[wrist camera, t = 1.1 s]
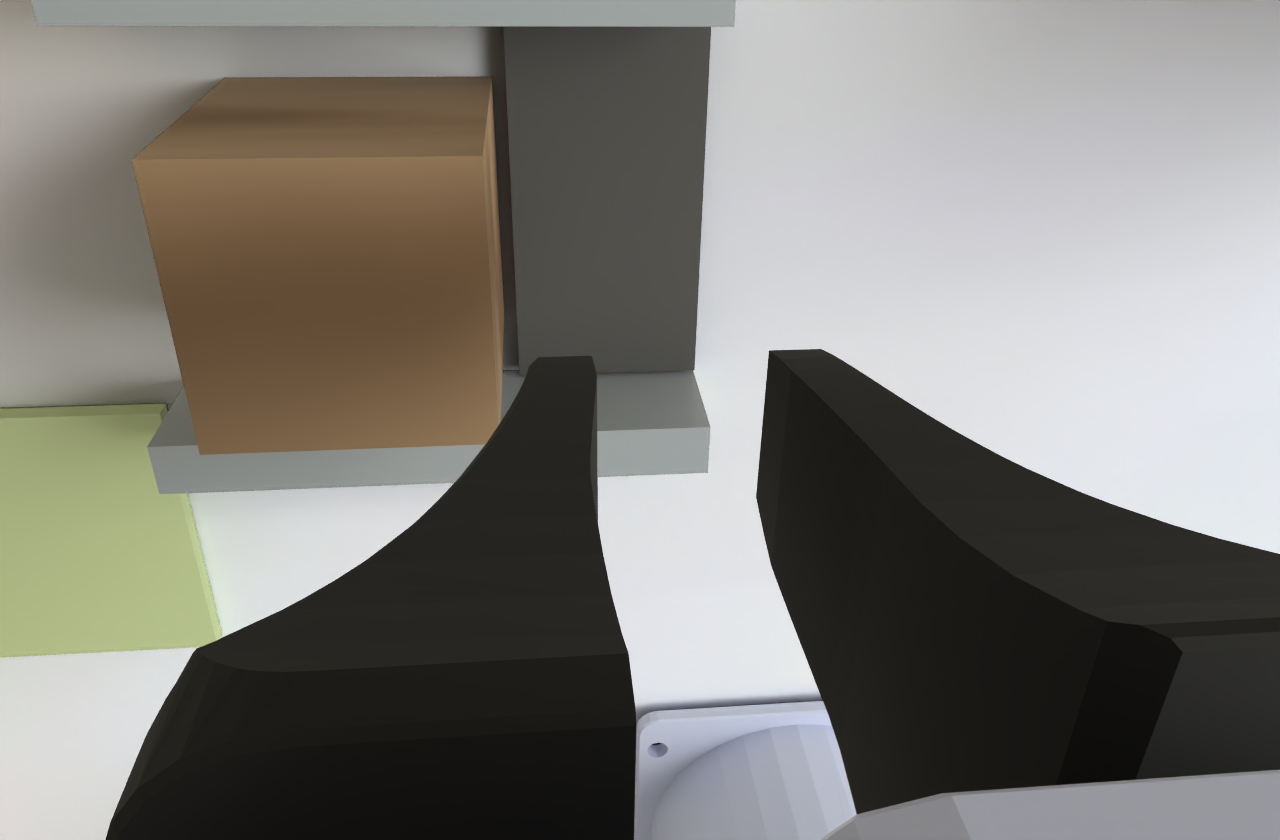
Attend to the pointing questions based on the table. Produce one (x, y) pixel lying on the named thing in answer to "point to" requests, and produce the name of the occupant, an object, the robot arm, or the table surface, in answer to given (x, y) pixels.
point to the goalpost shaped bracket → (534, 221)
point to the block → (332, 261)
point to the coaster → (95, 537)
